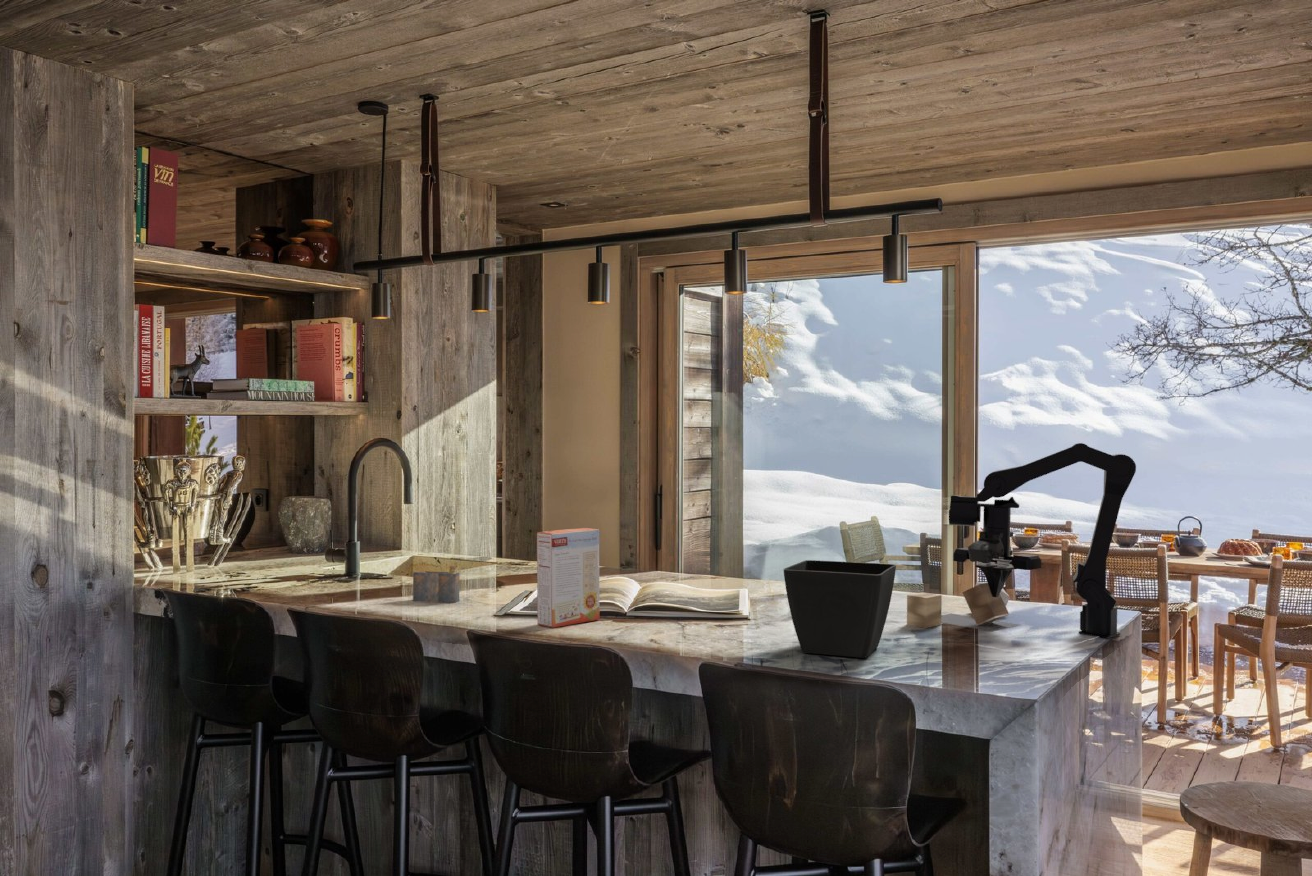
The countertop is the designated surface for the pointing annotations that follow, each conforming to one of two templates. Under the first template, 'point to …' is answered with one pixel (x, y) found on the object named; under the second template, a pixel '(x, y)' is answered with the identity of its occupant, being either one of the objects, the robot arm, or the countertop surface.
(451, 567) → the grooved slate block
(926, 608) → the oak block
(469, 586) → the countertop surface
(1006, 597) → the die
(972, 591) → the walnut block
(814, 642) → the flower pot
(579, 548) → the cracker box
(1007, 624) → the rubber mat
